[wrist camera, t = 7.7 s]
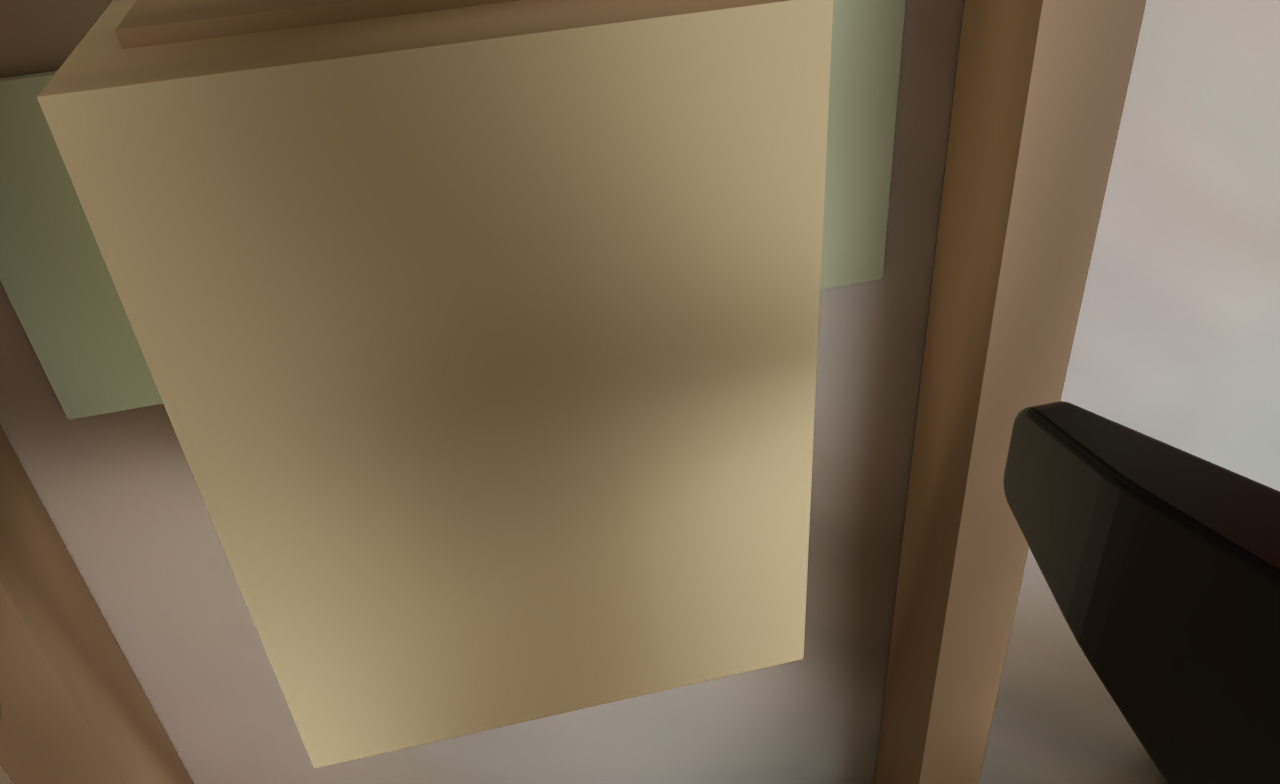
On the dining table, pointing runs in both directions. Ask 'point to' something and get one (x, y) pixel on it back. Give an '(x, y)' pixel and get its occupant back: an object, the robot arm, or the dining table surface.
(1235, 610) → the robot arm
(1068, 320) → the bay
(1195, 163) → the dining table surface
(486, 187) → the box
